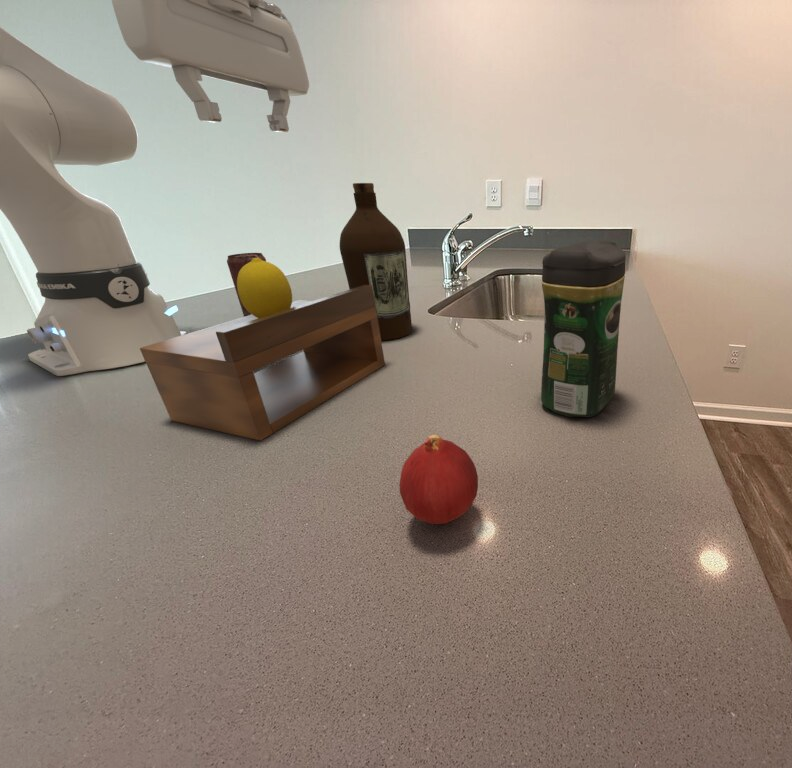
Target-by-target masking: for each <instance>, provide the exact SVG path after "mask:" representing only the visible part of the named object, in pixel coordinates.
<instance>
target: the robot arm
mask: <svg viewBox="0 0 792 768" xmlns="http://www.w3.org/2000/svg"><path fill="white" fill-rule="evenodd" d="M111 4H112V7H113V10H114V11H113V12H114V14H115V18H116V21H117V24H118V27H119V30H120V34H121V36H122V39H123V41H124V43H125V45H126V46H127V48H128V49H129V50H130V51H131V52H132V53H133V54H134V56H135V57H136V58H137V59H138V60H140V61H141V62H145V63H149V64H154V65H156V66H157V65H158V66H161V67H165V68H170V69H172V71H173V74H174V78H175V81H176V83H177V84H178V85H179V87H180V88H181V89H182V90H183V92H184V93H185V94H186V96H187V97H188V98H189V99H190V101H191V103H193V106H194V108H195V112H196V115H197V119H199V120H200V122H207V123H221V122H222V119H223V118H222V114H221V113H220V107H219V104H218V102H214V101H211V100H210V97H209V96H208V95H207V93H206V92H205V90H204V88H203V87H202V85H201V84H200V82H203V77H202V76H204V77H208V78H211V79H216V80H220V81H223V82H228V83H232V84H237V85H242V86H245V87H249V88H253V89H256V90H262V91H264V92H265V91H266V92H267V96H268V100H269V102H273V103H272V110H271V114H267V115H266V119H267V122H268V126H269V130H270V131H272V132H277V133H288V132H289V130H290V127H289V123H288V118H287V116H288V112H289V109H290V106H291V97H299V96H305V95H307V94H308V92H309V88H310V81H309V76H308V73H307V69H306V68H307V67H306V64H305V61H304V57H303V53H302V51H301V46H300V43H299V41H298V39H297V36H296V33H295V31H294V29H293V25H292V23H291V22H290V21H289V20H288V18H287V17H286V15H285V14H284V13H283V11H282V9H281V8H280V7H279V6H277V5H276V4H274V3H270V2H267V1H265V0H111ZM138 145H139V135H138V130H137V127H136V124H135V122H134V120H133V118H132V116H131V115H130V113H129V111H128V110H127V109H126V108H125V106H124V105H123V104H122V103H121V101H119V100H118V99H117V98H115V97H114V96H113V95H112V94H110V93H108V92H106V91H104V90H102V89H100V88H98V87H96V86H93V85H92V84H89V83H87V82H85V81H84V80H82V79H80V78H78V77H77V76H75V75H73V74H72V73H70V72H68V71H67V70H65V69H63V68H62V67H60V66H58V65H57V64H56V63H54V62H53V61H51V60H50V59H48V58H46V57H45V56H43V55H42V54H41V53H39V52H37V51H36V50H34V49H33V48H32V47H30V46H29V45H27V44H26V43H24V42H23V41H21V40H20V39H18V38H17V37H16V36H15V35H12V34H11V33H9V31H7V30H5V29H4V28H3V27H1V26H0V211H1V212H2V213H3V214H4V216H5V217H6V219H7V220H8V221H9V223H10V224H11V227H12V228H13V229H14V231H15V233H16V234H17V236H18V237H19V239H20V241H21V243H22V244H23V246H24V248H25V250H26V252H27V254H28V256H29V257H30V259H31V261H32V263H33V264H34V267H35V269H36V270H37V272H36V273H35V278H36V285H37V288H38V289H39V293H40V295H41V297H43V298H44V303H43V305H42V307H41V309H40V311H39V313H38V315H37V317H36V319H35V320H34V322H33V325H34V327H31V328H28V329H26V332H27V334H28V337H29V339H30V340H31V341H32V343H33V344H36V345H37V344H43V346H44V347H43V348H40V349H37V350H34V351H32V352H30V353H28V354H27V356H28V360H29V361H31V362H32V363H34V364H35V365H37V366H39V367H40V368H42V369H44V370H46V371H47V372H49V373H51V374H52V375H54V376H56V377H63V376H69V375H75V374H81V373H86V372H94V371H101V370H102V371H103V370H110V369H116V368H122V367H128V366H131V365H136V364H137V365H138V364H140V363H144V362H145V360H144V357H143V355H142V353H141V351H140V348H142V347H145V346H148V345H152V344H155V343H158V342H162V341H165V340H168V339H172V338H175V337H178V336H181V335H185V334H188V331H184V330H180V329H179V327H178V325H177V323H176V320H175V319H174V317H173V314H175V313H176V312H178V311H179V308H178V306H177V305H174V306H172V307H170V308H169V307H168V305H167V302H166V301H165V298H164V297H163V296H162V295H161V294H159V293H157V292H155V291H153V289H151V288H150V287H149V286H150V285H151V282H150V280H149V277H148V273H147V271H146V270H145V269H144V266H143V264H142V263H141V262H140V261H138V259H137V257H136V255H135V253H134V250H133V247H132V245H131V242H130V240H129V237H128V235H127V232H126V230H125V228H124V225H123V223H122V220H121V217H120V215H119V214H118V213H117V212H116V211H115V210H114V209H113V208H112V207H111V206H110V205H108V204H106V202H103V201H101V200H100V199H97V198H95V197H92V196H89V195H87V194H85V193H82V192H81V191H79V190H78V189H77V188H75V187H74V186H73V185H72V184H70V183H69V181H67V179H65V177H64V176H63V175H62V173H60V171H59V170H58V168H57V167H56V165H61V166H81V167H82V166H83V167H84V166H85V167H100V166H106V165H112V164H117V163H123V162H127V161H130V160H132V158H134V156H135V154H136V152H137V150H138ZM145 363H146V362H145Z"/></svg>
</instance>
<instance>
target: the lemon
mask: <svg viewBox="0 0 792 768" xmlns="http://www.w3.org/2000/svg"><path fill="white" fill-rule="evenodd" d="M237 289H238V294H239V297H240V300H241V302H242V304H243V306H244V307H245V308H246V310H247V311H248V312H249V313H251V314H252V315H253V316H255V317H257V318H261V317H264V316H267V315H270V314H274V313H277V312H280V311H283V310H286V309H289V308H290V307H291V304H292V302H293V292H292V288H291V285H290V282H289V280H288V278H287V276H286V275H285V273H284V272H283V271H282V270H281V269H280V267H278V266H276V265H275V264H273V263H271V262H269V261H267V260H266V261H262V260H261V259H260V258H253V259H252V261H251V262H249V263H247V264H246V265H244V266H243V267H242V268H241V270H240V271H239V274H238V278H237Z"/></svg>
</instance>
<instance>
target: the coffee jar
mask: <svg viewBox="0 0 792 768" xmlns="http://www.w3.org/2000/svg"><path fill="white" fill-rule="evenodd" d="M626 259H627V258H626V252H624V250H623V249H622V248H621V247H619V246H618V245H617V244H616V242H614V241H607V240H589V239H588V240H586V239H585V240H581V241H579V242H578V241H577V242H575V243H572V244H569V245H566V246H563V247H558V248H555V249H552V250H551V251H550V252H549V253H548V254H546V255H544V256H543V258H542V261H541V265H542V271H541V288H542V294H543V304H544V324H543V325H544V327H543V353H542V367H541V368H542V369H541V385H540V386H541V388H540V389H541V390H540V391H541V392H540V397H541V398H540V400H541V403H542V404H543V407H545V408H547V409H548V410H551V411H552V412H553V413H555V414H558V415H561V416H565V417H569V418H578V417H579V418H580V417H582V418H591V417H594V416H596V415H598V414H599V413H600V412H601V411H603V410H604V409H605V408H606V406H608V404H609V403H610V402H611V401H612V399H613V397H614V395H615V392H616V380H617V363H618V348H619V335H620V334H619V333H620V321H621V310H622V301H623V300H622V299H623V292H624V286H625V278H626V276H625V275H626Z"/></svg>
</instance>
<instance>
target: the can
mask: <svg viewBox="0 0 792 768" xmlns="http://www.w3.org/2000/svg"><path fill="white" fill-rule="evenodd" d="M253 258H260V259H261V260H262V261H266V262H267V258H266V257H265V256H264V255H263V253H262V252H244V253H243V252H242V253H235V254H229V255H227V259H226V263H227V267H228V271H229V273H230V277H231V279H232V283H233V286H234V289H235V293H236V296H237V299H238V302H239V306H240V308H241V312H242V315H243V317H245V316H248V315H251V313H249V312H248V311H247V310H246V308H245V307H244V306H243V304H242V302H241V300H240V297H239V294H238V289H237V278H238V274H239V271H240V270H241V268H242V267H243V266H244V265H246V264H247V263H249V262H251V261H252V259H253Z"/></svg>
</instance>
